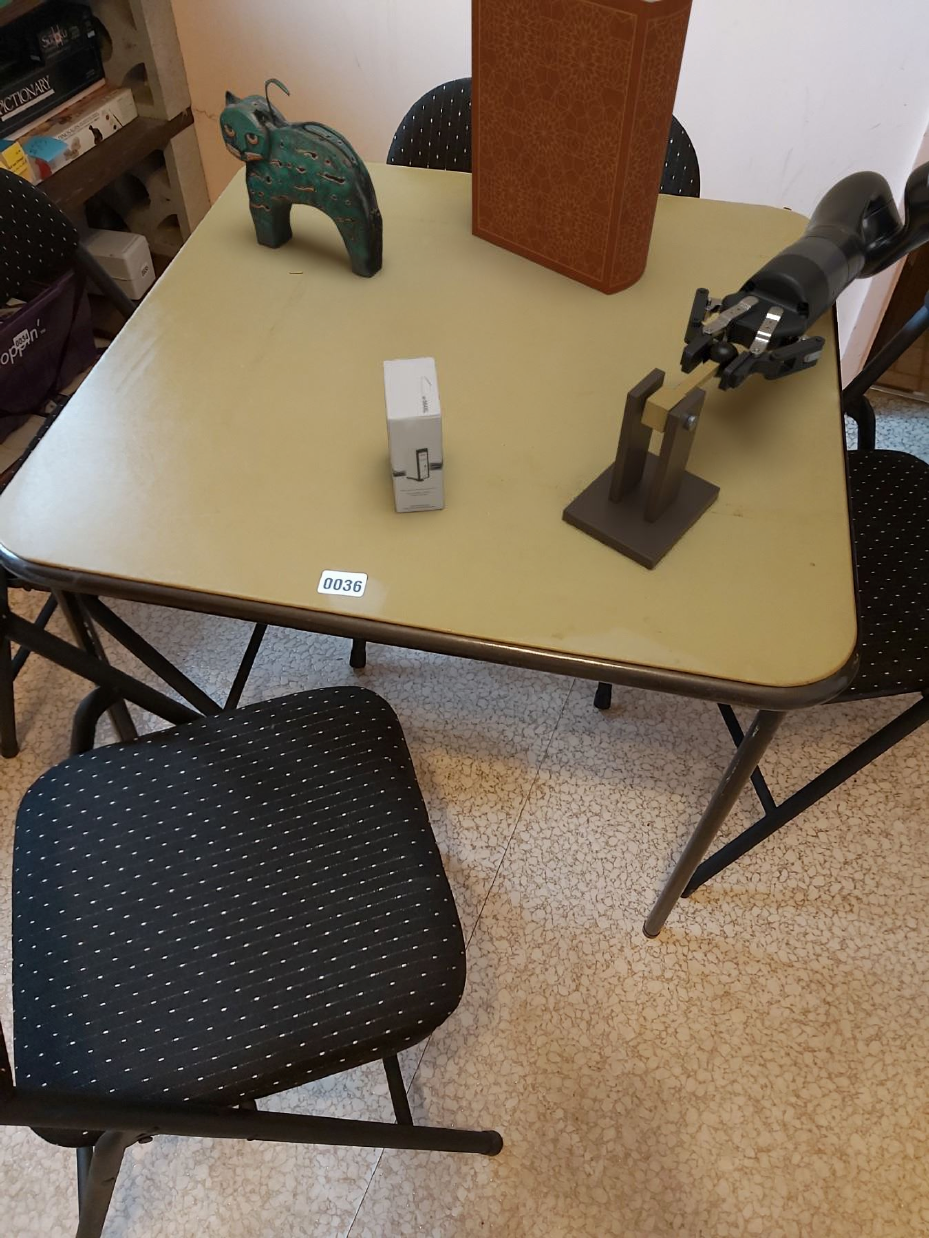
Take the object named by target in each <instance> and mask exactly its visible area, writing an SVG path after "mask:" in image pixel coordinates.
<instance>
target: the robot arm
mask: <svg viewBox="0 0 929 1238" xmlns="http://www.w3.org/2000/svg"><path fill="white" fill-rule="evenodd" d="M903 191H904V192H903V206H904V208H903V209H904V222H903V221H902V218H901V215H900V212H899V209H898V207H897V203H896V201H895V198H894V195H893V191H892V189H891V186H890V184H889V182H888V181H887V178H885V177H884V176H883V175H882V174H880V173H879V172H876V171H871V170H862V171H857V172H853V173H851V174H849V175H847V176H845V177H843V178H841V179H840V180H839V181H838V182H836V183H835V184H834V185H833V186H831V188H830V189H829V190H828V191H827V192H826V193H825V194H824V195H823V196H822V197H821V199H820V201H819V202H818V203H817V205H816V207H815V209H814V210H813V212H812V215H811V217H810V219H809V221H808V224H807V226H806V228H805V231H804V233H803V234H802V236H801V237H799V238H798V239H797V240H796V241H795V242H793V243H792V244H790V245H788V246H787V247H785V248H783V249H782V250H781V251H779V252H778V253H777V254H775V255H774V257H772V258H771V259H770V260H769V261H768V262H767V263H765V264H764V265H763V266H762V267H760V269H759V270H757V271H756V272H755V273H754V274H753V275H751V276H750V278H748V279H747V280H746V281H745V282H744V283H743V285H742V286H741V287H740V288H739V289H738V290H737V291H736V292H734V293H729V294H726V295H725V296H724V297H723V298H722V299H721V298H716V297H711V296H709V294H710V290H709V289H708V288H705V287H699V288H696V290H695V294H694V299H693V301H692V307H691V310H690V315H689V318H688V322H687V326H686V330H685V333H684V338H683V342H684V343H685V344H686V345H685V346H684V347H683V349H682V354H681V357H680V361H679V365H681V368H680V371H681V372H682V373H684V374H686V375H691V373H692V372H693V371H694V370H696V368H697V367H698V366H700V365H701V364H703V355H704V353H705V351H706V349H707V348H708V347H709V346H710V345H712V344H713V343H715V342H719V341H726V342H730V343H731V344H733V345H739V346H742V347H744V348H745V349H747V350H748V351H746V350H742V352H740V353H739V356H738V357H737V358H735V359H734V360H733V361H732V362H731V363H730V364H729V365H728V366H727V367H726V368H725V369H724V371H723V373H722V376H721V378H720V380H719V383H718V386H717V389H719V390H720V391H722V392H724V393H726V392H727V391H728V390H730V389H732V390H735V389H738V388H739V387H740V386H741V385H743V383H744V382H746V381H747V379H748V378H749V377H754V376H755V375H756V374H759V375H762V378H763V379H764V380H766V381H769V382H774V381H777V380H779V379H782V378H785V377H787V376H790V375H792V374H796V373H799V372H801V371H804V370H806V369H810V368H812V367H815V366H816V365H817V363H818V361H819V359H820V358H821V357H820V356H821V354H822V352H823V349H824V346H825V343H826V339H825V338H824V337H823V336H820V335H813V336H811V337H809V336H808V335H807V334H806V333H807V332H808V331H809V330H810V329H811V328H812V327H813V325H815V324H816V323H817V321H819V320H820V319H821V318H822V317H824V316H825V315H826V314H827V313H828V312H829V311H830V309H831V308H832V306H833V305H834V304H835V303H836V301H837V300H838V298H839V297H840V295H841V294H843V292H844V291H845V290H846V289H847V288H848V287H849V286H850V285H851V284H852V283H853V282H854V281H855V280H864V279H869V278H872V277H875V276H877V275H879V274H880V273H882V272H883V271H886V270H887V269H888V268H890V267H891V266H893V265H894V264H896V263H897V262H898V261H899V260H901V259H902V258H903V257H905V256H907V255H908V254H909V253H911V252H913V251H914V250H916V249H917V248H919V247H920V246H923V245H924V244H925V243H928V242H929V160H928V161H925V162H924V163H922V164H920V165H918V166H917V167H916V168H914V169H913V170H912V172H911V173H910V174H909V175H908V177H907V179H906V181H905V186H904V190H903ZM714 314H718V316H717V318H716V319H715V320H713V321H711V322H709V323H707V324H706V325H705V324H704V323H705V322H707V320H708V318H711V317H712V316H713V315H714ZM769 352H770V353H769Z"/></svg>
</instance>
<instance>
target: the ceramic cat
mask: <svg viewBox="0 0 929 1238" xmlns="http://www.w3.org/2000/svg"><path fill="white" fill-rule="evenodd" d="M272 83H273V84H274V85H276V86H277V87H279V89H281V90H282V92H284V93H285V94H286V95H287V96H288V97H290V95H291V94H290V91H289V90H288V88H287V87H286V85H284V83H282V82H281V80H278V79H276V78H270V79H267V80H266V81H265V84H264V91H265V92H264V93H265V97H264V96H262V95H259V94H251V95H248V96H245V97H243V98H240V97H238V96H237V95H235V94H234V93H233V92H232V91H230V90H225V95H224V97H225V99H224V100H225V101H224V102H225V107H224V109H223V110H222V112H221V113H220V115H219V127H220V131H221V135H222V139H223V141H224V144H225V148H226V150H227V151H228V152H229V154H231V155H232V156H233V157H234V158H236V159H237V160H239V161H241V162H244V163H245V178H244V180H245V185H246V190H247V195H248V209H249V212H250V215H251V219H252V222H253V226H254V230H255V236H256V240H257V244H259V245H263V246H265V247H268V248H271V249H276V248H280V247H281V246H282V247H283V245H285V244H286V243H288V241H289V240H291V239H293V238H294V237H293V236H294V233H293V228H292V224H291V211H292V207H293V205H303V206H308V207H312V208H314V209H317V210H319V211H320V212H322V213H323V214H325V215H326V216H327V217H329V218H330V219H331V220H332V222H333V223H334V224H335V227H336V228H337V230H338V233H339V235H340V236H341V238H342V241H343V244H344V248H345V250H346V252H347V255H348V258H349V261H350V265H351V269H352V272H353V273H354V274H356V275H357V276H362V277H367V278H371V277H372V276H374V275H375V274H376V273H377V272H378V271H379V270H380V269H381V268H383V251H384V238H383V235H384V221H383V220H384V219H383V216H382V213H381V210H380V207H379V202H378V198H377V194H376V190H375V187H374V184H373V180H372V177H371V175H370V173H369V170H368V168H367V166H366V165H365V162H364V161H363V160H362V158H361V157H360V155H359V154H358V153H357V152H356V151H355V148H354V147H353V146H352V145H351V143H350V142H349V140H348V139H347V138H346V137H345V136H344V135H343V134H341V133H340V132H338V131H337V130H336V129H334V128H332V127H330V126H328V125H326V124H324V123H321V122H318V121H314V120H313V121H288V120H287V119H286V118H285V117H284V115H283V113H282V112H281V111H280V110H279V109H278V108H277V107H276V105H275V104H273V103H272V101H271V100H270V99H269V95H268V87H269V85H270V84H272Z"/></svg>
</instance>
